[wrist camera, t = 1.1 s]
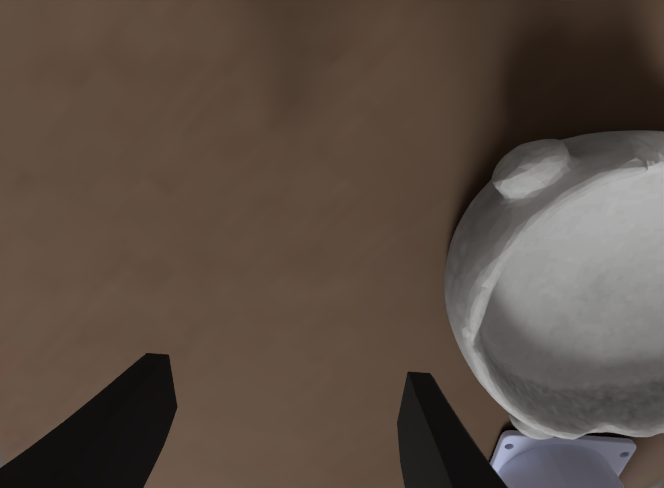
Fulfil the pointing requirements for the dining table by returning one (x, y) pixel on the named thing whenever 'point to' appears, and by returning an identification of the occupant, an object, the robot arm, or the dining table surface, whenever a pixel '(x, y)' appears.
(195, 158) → the dining table surface
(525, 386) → the dish
